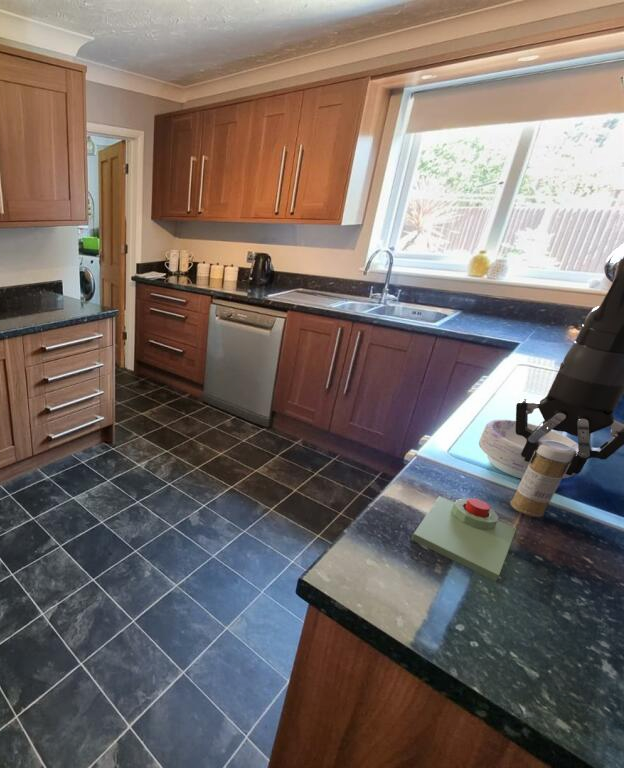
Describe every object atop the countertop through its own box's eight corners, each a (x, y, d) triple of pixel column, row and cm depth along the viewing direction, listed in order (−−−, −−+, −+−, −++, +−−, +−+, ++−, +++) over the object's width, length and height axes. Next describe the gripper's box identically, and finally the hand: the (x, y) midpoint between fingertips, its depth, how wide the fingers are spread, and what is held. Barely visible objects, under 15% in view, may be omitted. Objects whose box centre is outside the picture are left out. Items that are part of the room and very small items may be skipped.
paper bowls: (579, 501, 80) (600, 466, 77) (478, 475, 87) (493, 442, 84) (556, 462, 92) (572, 431, 89) (468, 442, 99) (481, 412, 96)
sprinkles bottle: (540, 507, 77) (573, 444, 71) (545, 521, 73) (580, 456, 68) (507, 497, 79) (537, 435, 74) (510, 511, 76) (542, 447, 70)
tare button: (466, 503, 75) (470, 495, 74) (488, 512, 73) (492, 504, 72) (462, 511, 73) (466, 503, 72) (484, 520, 71) (488, 512, 70)
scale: (437, 500, 79) (442, 487, 78) (514, 533, 72) (521, 519, 71) (410, 540, 70) (416, 526, 69) (495, 582, 62) (503, 567, 61)
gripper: (664, 382, 63) (609, 477, 70) (535, 357, 73) (497, 442, 80) (666, 396, 58) (607, 496, 65) (528, 367, 68) (489, 456, 75)
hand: (547, 465), depth 72 cm, fingers closed on sprinkles bottle, 4 cm apart
